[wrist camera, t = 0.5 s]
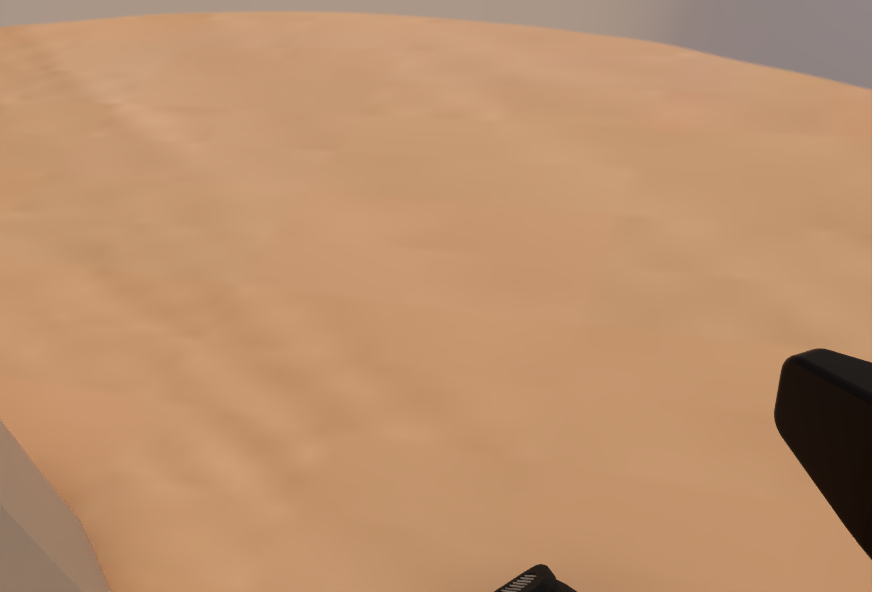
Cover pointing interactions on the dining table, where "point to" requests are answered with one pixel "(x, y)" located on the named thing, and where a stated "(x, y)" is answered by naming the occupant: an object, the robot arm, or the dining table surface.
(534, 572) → the electric trimmer
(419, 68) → the dining table surface
